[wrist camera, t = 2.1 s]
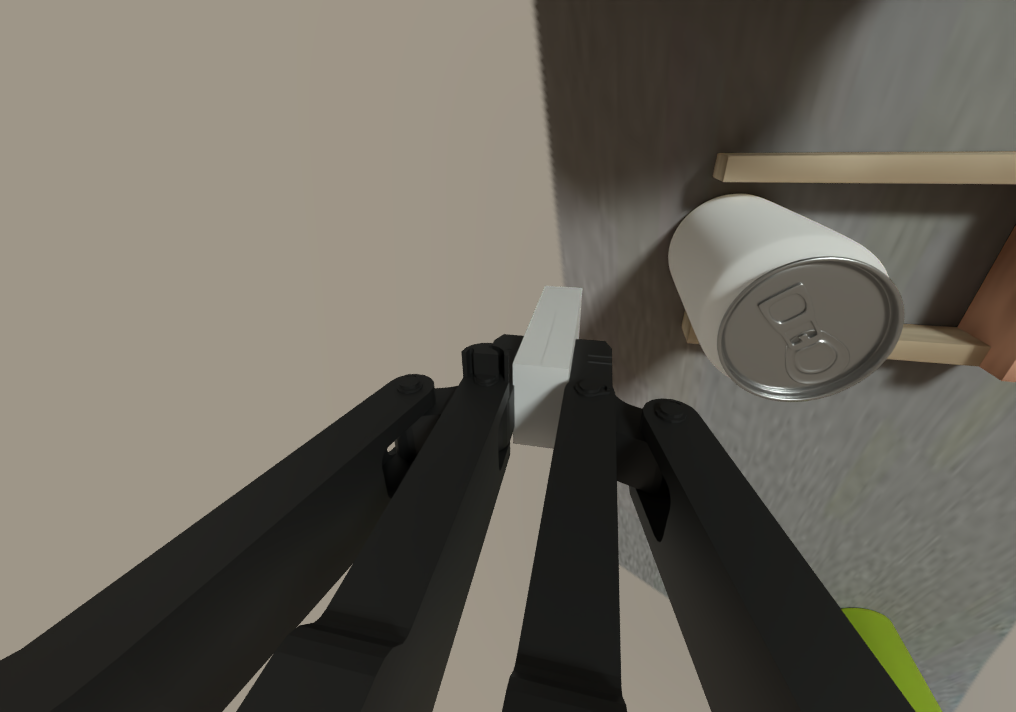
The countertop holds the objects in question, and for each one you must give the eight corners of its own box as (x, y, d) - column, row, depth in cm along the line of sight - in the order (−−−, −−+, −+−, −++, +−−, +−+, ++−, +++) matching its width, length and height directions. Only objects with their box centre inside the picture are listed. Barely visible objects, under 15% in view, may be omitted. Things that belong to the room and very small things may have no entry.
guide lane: (717, 152, 22) (736, 157, 19) (1110, 150, 19) (1220, 156, 16) (681, 326, 27) (691, 354, 24) (987, 348, 24) (1049, 384, 21)
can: (698, 318, 27) (752, 435, 17) (646, 237, 25) (671, 312, 15) (805, 261, 24) (951, 362, 14) (755, 166, 22) (878, 199, 12)
